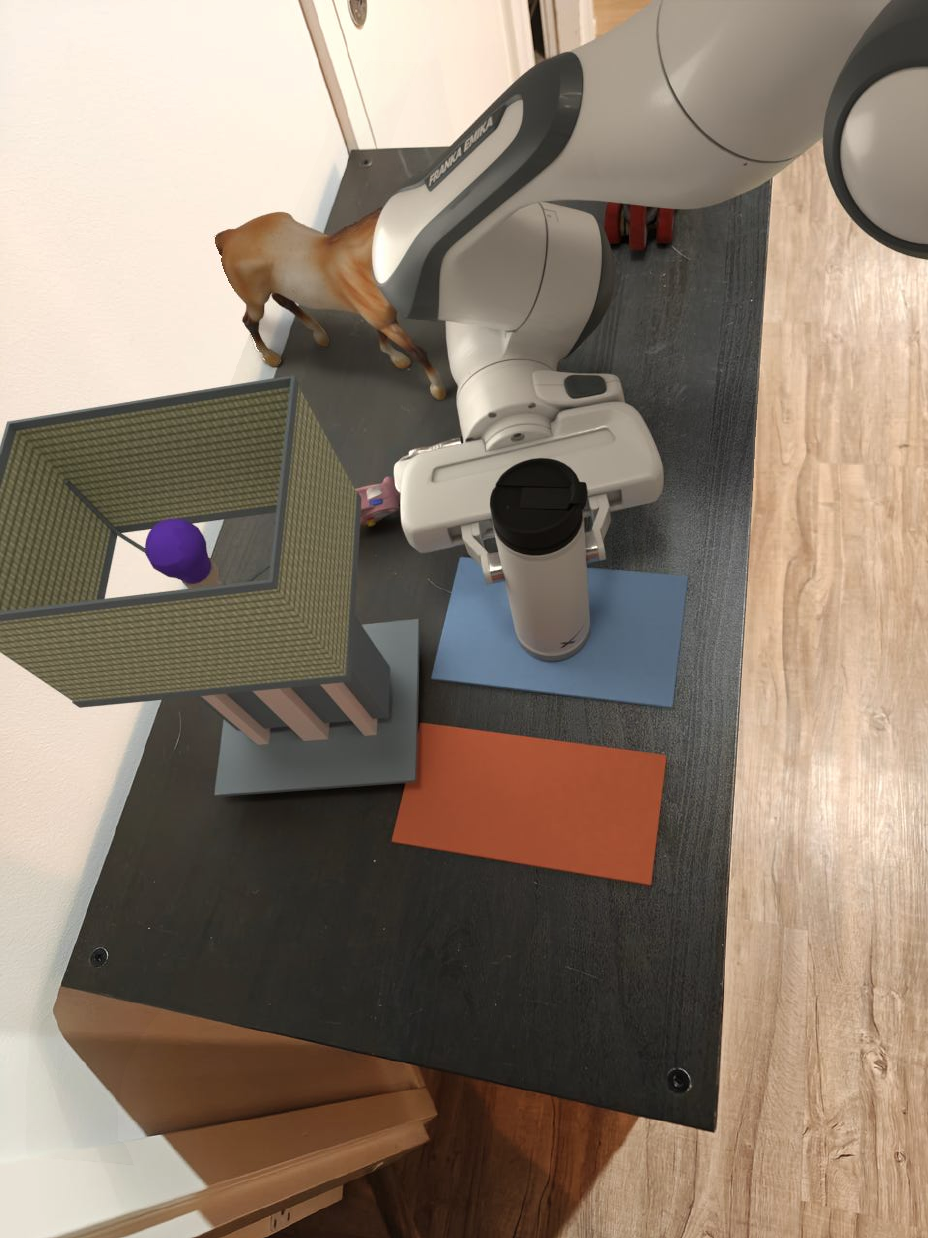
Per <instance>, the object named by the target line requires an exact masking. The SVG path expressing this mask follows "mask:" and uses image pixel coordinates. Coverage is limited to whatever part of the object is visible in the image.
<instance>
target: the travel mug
mask: <svg viewBox="0 0 928 1238" xmlns="http://www.w3.org/2000/svg"><path fill="white" fill-rule="evenodd" d="M495 485H496V487H495V488H494V489H493V490H492V493H491V497H490V509H491V515H492V520H493V529H494V533H495V542H496V543H495V544H496V547H497V552H499V557H500V561H501V566H502V569H503V573H504V577H505V585H506V589H507V594H508V599H509V603H510V608H511V613H512V617H513V622H514V627H515V631H516V636H517V639H518V641H519V643H520V645H521V646H522V648H523V649H524V650H525V651H526V652H527V653H528V654H530V655H532V656H533V657H535V658H538V659H541V660H546V661H557V660H563V659H566V658H568V657H571V656H572V655H574V654H576V653H577V652H578V651H579V650H580V649H581V648H582V647H583V646H584V645H585V643H586V641H587V639H588V637H589V633H590V612H589V596H588V579H587V568H588V566H587V565H588V563H586V546H585V532H586V531H585V518H584V514H583V509H584V508H585V506H586V503H587V496H588V491H587V485H586V483H585V482H580V481H579V479H578V477H577V475H576V473H575V472H574V471H573V470H572V469H571V468H570V467H569V466H567V465H566V464H565V463H562V462H560V461H558V460H554V459H550V458H536V459H530V460H526V461H523V462H520V463H518V464H516V465H514V466H512V467H511V468H509V469H508V470H506V471H505V472H504V473H503V474H502V475H501V476H500V478H499V479H498V481H497V483H496V484H495Z"/></svg>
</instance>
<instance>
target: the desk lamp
mask: <svg viewBox="0 0 928 1238" xmlns="http://www.w3.org/2000/svg"><path fill="white" fill-rule="evenodd" d="M355 489H356V488H355V486H354V485H353V483H352V481H351V479H350V477H349V476H348V474H347V471H346V470H345V468H344V467H343V464H342V463H341V461H340V459H339V457H338V455H337V454H336V452H335V450H334V448H333V445H332V444H331V442H330V441H329V439H328V436H327V435H326V433H325V431H324V429H323V428H322V426H321V424H320V422H319V420H318V418H317V417H316V415H315V413H314V411H313V409H312V408H311V405H310V404H309V402H308V400H307V398H306V396H305V394H304V393H303V391H302V389H301V387H300V381H299V380H298V378H297V376H296V375H295V374H291V375H286V376H279V377H273V378H267V379H260V380H254V381H250V382H242V383H236V384H229V385H224V386H223V385H222V386H218V387H211V388H205V389H199V390H192V391H187V392H180V393H175V394H167V395H162V396H155V397H149V398H143V399H137V400H131V401H125V402H124V401H123V402H119V403H112V404H107V405H100V406H95V407H88V408H82V409H76V410H70V411H64V412H63V411H62V412H58V413H50V414H46V415H39V416H32V417H26V418H20V419H14V420H8V421H6V424H5V427H4V431H3V435H2V439H1V441H0V654H1V655H4V657H7V658H8V659H10V661H13V662H14V663H15V664H17V665H18V666H19V667H21V668H22V669H24V670H26V671H27V672H29V673H30V674H31V675H33V676H34V677H36V678H38V679H39V680H40V681H42V682H44V683H45V684H46V685H48V686H49V687H51V688H52V689H54V690H55V691H56V692H58V693H60V694H61V695H62V696H64V697H65V698H67V699H69V700H70V701H72V702H71V703H72V704H73V705H75V706H76V707H77V708H79V709H83V708H92V707H103V706H113V705H124V704H134V703H144V702H152V701H153V702H155V701H164V700H174V699H175V700H176V699H187V698H196V697H197V698H198V699H199V700H200V701H202V702H203V703H204V704H205V705H206V706H207V707H209V708H210V709H211V710H212V711H213V712H215V713H216V714H217V715H218V716H219V717H220V718H222V719H223V721H222V729H221V730H222V731H221V738H220V745H219V755H218V762H217V769H216V777H215V786H214V792H213V793H214V794H213V796H214V797H216V798H220V797H221V798H222V797H232V796H233V797H234V796H247V795H260V794H261V795H262V794H273V793H274V794H275V793H287V792H298V791H299V792H301V791H313V790H314V791H315V790H316V791H317V790H329V789H341V788H353V787H355V788H356V787H367V786H382V785H392V784H393V785H395V784H405V783H410V782H417V742H418V730H419V693H420V692H419V690H420V689H419V688H420V651H421V650H420V646H421V641H420V640H421V638H420V637H421V620H420V619H419V618H412V619H402V620H392V621H384V622H374V623H365V624H362V623H361V622H360V621H359V619H358V618H357V616H356V601H357V600H356V599H357V585H358V584H357V583H358V568H359V549H360V533H361V525H360V518H361V501H362V498H361V496H360V495H359V493H358V491H356V490H355ZM269 514H275V519H274V529H273V535H272V546H271V555H270V561H269V562H268V563H267V564H266V565H264V566H263V567H261V568H260V569H259V570H258V571H256V572H255V573H253V574H252V575H250V576H249V577H248V578H246V579H245V580H244V581H240V582H233V583H223V582H222V581H221V580H220V579H219V575H220V574H219V573H220V571H219V567H218V566H217V565H216V563H215V562H214V560H212V559H211V558H210V557H209V554H208V549H207V548H208V547H207V541H206V538H205V536H204V535H203V532H202V531H201V529H200V527H198V526H196V525H195V524H200V523H207V522H208V523H210V522H216V521H222V520H231V519H238V518H246V517H252V516H253V517H254V516H261V515H269ZM148 530H149V531H148ZM140 531H148V534H147V536H146V539H145V544H144V546H143V545H141V544H139V543H138V542H136V541H135V540H133V539H131V538H130V537H128V536H127V535H125V533H133V532H140ZM118 537H119V538H121V539H122V540H124V541H125V542H127V543H128V544H130V545H132V546H133V547H134V548H137V549H138V550H140V551H141V552H143V553H144V554H145V556H146V558H147V560H148V561H149V563H150V566H151V567H152V568H153V569H154V570H155V571H157V572H159V573H161V574H162V575H165V576H166V577H168V578H173V579H176V580H180V581H181V583H182V584H183V585H184V586H185V587H186V588H184V589H183V588H182V589H175V590H165V591H159V592H150V593H141V594H133V595H125V596H116V597H107V598H106V594H107V590H108V584H109V580H110V574H111V569H112V566H113V565H112V564H113V560H114V555H115V550H116V545H117V539H118ZM268 570H269V572H268V578H266V579H265V578H264V579H258V580H255V579H257V578H258V577H259V576H261V575H262V574H263V573H265V572H266V571H268Z"/></svg>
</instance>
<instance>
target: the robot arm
mask: <svg viewBox="0 0 928 1238" xmlns="http://www.w3.org/2000/svg"><path fill="white" fill-rule="evenodd" d="M821 140H822V154H823V159H824V165H825V169H826V173H827V177H828V180H829V183H830V185H831V188H832V190H833V192H834V195H835V197H836V198H837V200H838V202H839V204H840V205H841V206H842V209H844V211H845V213H846V214H847V215H848V216H849V218H850V219H851V220H852V221H853V223H855V224H856V226H858V227H859V228H860V229H861V230H862V231H863V232H864V233H865V234H867V235H868V236H869V237H870V238H872V239H873V240H874V241H876V242H877V243H878V244H881V245H883V246H884V247H886V248H888V249H890V250H892V251H895V252H896V253H898V254H902V255H905V256H908V257H911V258H916V259H920V260H924V261H926V260H927V261H928V0H651V1H650V2H649V3H647V5H645V6H644V7H642V9H640V10H639V11H638V12H636V13H635V14H633V15H632V16H631V17H629V18H627V19H626V20H624V21H623V22H621V23H620V24H619V25H617V26H616V27H614V28H612V29H611V30H609V31H608V32H605V33H603V34H602V35H600V36H597V37H596V38H594V39H592V40H590V41H588V42H586V43H584V44H582V45H580V46H578V47H576V48H574V49H572V50H570V51H565V52H561V53H559V54H557V55H554V56H552V57H551V56H550V57H549V58H547V59H545V60H544V59H543V60H542V61H540V62H538V63H536V64H534V65H533V66H531V68H529V69H528V70H527V71H525V72H524V73H523V74H521V76H519V77H518V78H517V79H516V80H515V81H514V82H513V83H512V84H511V85H510V86H508V87H507V88H506V90H504V91H503V92H502V93H501V94H500V95H499V96H498V97H497V98H496V99H495V100H494V101H493V102H492V103H491V104H490V105H489V106H488V107H487V108H486V109H485V110H484V111H483V112H482V113H481V114H480V115H479V116H478V117H477V118H476V119H475V120H474V121H473V122H472V124H470V125H469V127H468V128H466V129H465V131H463V132H462V134H461V135H460V136H458V138H456V140H455V141H453V143H452V144H451V145H450V146H448V148H447V149H446V150H445V151H444V152H443V153H442V154H441V155H440V156H439V157H438V158H437V159H436V160H435V161H433V163H432V164H431V165H430V166H428V168H426V169H424V170H421V171H419V172H417V173H416V174H414V175H412V176H410V177H409V178H408V179H406V180H404V181H403V182H402V183H401V184H400V185H399V186H397V187H396V189H394V190H393V191H392V192H391V193H390V194H389V196H388V197H387V198H386V200H385V202H384V203H383V205H382V206H383V208H382V210H381V212H380V215H379V218H378V221H377V224H376V228H375V232H374V238H373V246H372V274H373V278H374V281H375V283H376V285H377V286H378V288H379V289H380V291H381V293H382V294H383V295H384V297H385V298H386V299H387V301H388V302H389V303H390V304H391V305H392V307H393V308H394V309H395V310H396V311H397V314H398V315H399V316H401V318H403V319H404V320H415V321H416V320H417V321H429V322H438V321H444V322H445V339H446V350H447V358H448V363H449V364H448V365H449V370H450V373H451V376H452V378H453V381H454V382H455V383H456V385H457V391H456V397H455V399H456V409H457V415H458V420H459V421H458V422H459V426H460V432H461V436H459V437H453V438H450V439H446V440H442V441H439V442H436V443H433V444H429V445H420V446H416V447H413V448H411V449H409V450H408V454H406V455H404V456H402V457H400V458H399V460H398V461H397V462H396V463H395V464H394V466H393V479H394V480H395V487H396V489H397V491H398V492H399V493H400V501H399V505H400V506H399V510H400V523H401V527H402V531H403V533H404V536H405V538H406V540H407V542H408V545H410V547H412V548H413V549H415V550H416V551H417V552H418V553H420V554H428V553H432V552H436V551H440V550H445V549H451V548H453V547H459V546H463V545H464V546H465V549H466V550H465V551H466V552H467V555H468V556H470V558H473V559H474V560H475V561H476V562H477V563H478V564H479V565H480V566H481V567H482V568H483V573H484V577H485V580H486V583H487V585H490V584H494V583H499V582H504V581H505V577H504V573H503V569H502V566H501V561H500V557H499V552H498V551H496V552H490V553H489V551H487V550H486V546H485V542H484V541H485V540H486V541H487V540H490V539H494V538H495V533H494V529H493V520H492V515H491V509H490V497H491V493H492V490H493V489H494V488H495V487H496V485H495V484H496V483H497V481H498V479H499V478H500V476H501V475H502V474H503V473H504V472H505V471H506V470H508V469H509V468H511V467H512V466H514V465H516V464H518V463H520V462H523V461H526V460H530V459H536V458H550V459H554V460H558V461H560V462H562V463H565V464H566V465H567V466H569V467H570V468H571V469H572V470H573V471H574V472H575V473H576V475H577V477H578V479H579V481H580V482H585V483H586V485H587V491H588V496H587V503H586V506H585V508H584V509H583V514H584V519H585V518H589V517H590V519H591V522H592V527H591V530H590V531H585V546H586V563H587V564H591V563H596V562H601V561H606V560H607V556H606V549H605V544H604V540H605V537H606V535H607V532H608V530H609V527H610V525H611V522H612V517H611V512H616V511H620V510H624V509H629V508H633V507H638V506H642V505H647V504H651V503H652V504H653V503H655V502H656V501H657V500H658V499H659V497H660V496H661V494H662V492H663V490H664V484H665V477H664V476H665V475H664V466H663V462H662V458H661V455H660V453H659V450H658V447H657V445H656V443H655V441H654V438H653V436H652V433H651V431H650V429H649V427H648V426H647V423H646V422H645V419H644V418H643V416H642V415H641V414H640V412H639V411H638V410H637V409H636V408H635V407H633V406H632V405H631V404H628V403H626V400H625V395H624V390H623V386H622V382H621V380H620V378H619V377H618V376H617V375H615V374H612V373H592V372H591V373H587V372H586V373H585V372H583V373H582V372H566V371H558V370H557V369H558V364H559V362H560V360H561V359H562V360H566V359H567V358H568V357H570V356H571V355H572V354H573V353H575V352H576V350H578V348H580V346H581V345H582V344H583V343H584V342H585V341H586V340H587V339H588V338H589V337H590V336H591V335H592V333H594V332H595V330H596V329H597V328H598V327H599V325H600V324H601V323H602V321H603V319H604V318H605V315H606V314H607V312H608V309H609V308H610V305H611V303H612V301H613V298H614V297H613V296H614V292H615V283H616V270H615V269H616V268H615V261H614V256H613V251H612V248H611V244H610V243H609V240H608V237H607V235H606V232H605V230H604V227H603V225H602V223H601V222H600V220H599V219H598V218H597V216H595V214H594V213H592V212H586V211H584V210H580V209H576V208H572V207H568V206H563V205H559V204H555V203H551V202H554V201H591V202H592V201H593V202H605V203H608V202H614V203H623V204H632V205H640V206H649V207H659V208H668V209H675V210H697V209H704V208H709V207H712V206H716V205H719V204H721V203H724V202H727V201H729V200H732V199H734V198H736V197H738V196H739V197H740V196H741V195H743V194H746V193H748V192H750V191H752V190H754V189H756V188H758V187H759V186H761V185H763V184H765V183H766V182H768V181H770V180H771V179H773V178H774V177H776V176H777V175H778V174H779V173H781V172H782V171H784V170H785V169H786V168H787V167H788V166H790V165H791V164H792V163H793V162H794V161H796V160H797V159H799V157H801V156H802V155H803V154H804V153H806V152H807V151H808V150H809V149H811V148H812V147H813V146H815V145H816V144H817V143H818V142H819V141H821ZM495 539H496V538H495Z"/></svg>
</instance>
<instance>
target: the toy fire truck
mask: <svg viewBox="0 0 928 1238" xmlns="http://www.w3.org/2000/svg"><path fill="white" fill-rule="evenodd" d="M675 212H676V209H668V208H659V207H649V206H640V205H632V204H623V203H614V202H606V206H605V213H604V223H603V224H604V227H603V228H604V230H605V232H606V235H607V237H608V240H609V243H610V245H611V244H614V245H617V244H620V243H621V242H622V238H623V236H624V237H627V236H628V237H629V241H628V242H629V244H628V245H629V249H630V250H632V251H644V250H645V249H646V245H647V238H648V233H649V229H656V235H655V236H656V237H655V239H656V242H657V243H658V244H671V242H672V240H673V235H674V227H675Z"/></svg>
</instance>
